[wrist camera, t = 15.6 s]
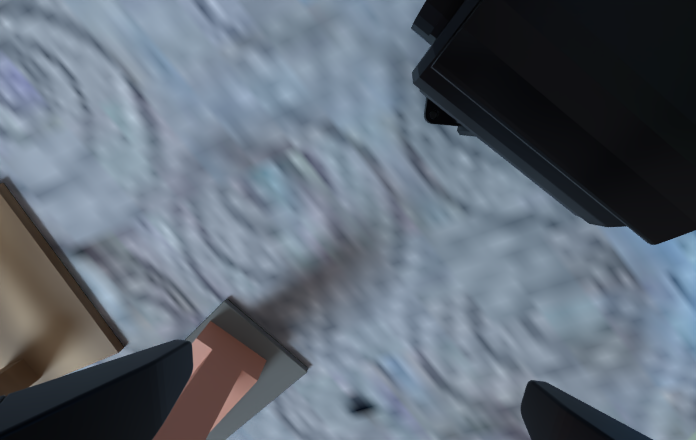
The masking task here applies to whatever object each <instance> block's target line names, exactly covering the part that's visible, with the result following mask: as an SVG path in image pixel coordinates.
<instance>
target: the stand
mask: <svg viewBox="0 0 696 440" xmlns="http://www.w3.org/2000/svg"><path fill="white" fill-rule="evenodd" d="M123 348H124V347H123V346H122V344H121V343H120V341H119V340H118V339H117V337H116V336H115V335H114V333H113V332H112V331H111V329H110V328H109V326H108V325H107V324H106V322H105V321H104V320H103V318H102V317H101V316H100V314H99V313H98V312H97V310H96V309H95V307H94V306H93V305H92V303H91V302H90V301H89V299H88V298H87V297H86V295H85V294H84V292H83V291H82V290H81V288H80V287H79V286H78V284H77V283H76V282H75V280H74V279H73V277H72V276H71V275H70V273H69V272H68V271H67V269H66V268H65V267H64V265H63V264H62V262H61V261H60V260H59V258H58V257H57V256H56V254H55V253H54V252H53V250H52V249H51V247H50V246H49V245H48V243H47V242H46V241H45V239H44V238H43V237H42V235H41V234H40V232H39V231H38V230H37V228H36V227H35V226H34V224H33V223H32V222H31V220H30V219H29V217H28V216H27V215H26V213H25V212H24V211H23V209H22V208H21V207H20V205H19V204H18V202H17V201H16V200H15V198H14V197H13V196H12V194H11V193H10V192H9V190H8V189H7V187H6V186H5V185H4V183H0V396H2V395H5V396H7V395H8V394H10V393H13V392H16V391H19V390H22V389H25V388H28V387H31V386H34V385H37V384H41V383H44V382H47V381H50V380H53V379H56V378H58V377H61V376H63V375H66V374H68V373H71V372H73V371H76V370H78V369H80V368H83V367H85V366H88V365H90V364H93V363H95V362H97V361H100V360H102V359H105V358H107V357H110V356H112V355H115V354H117V353H119V352H120V351H121V350H122V349H123Z"/></svg>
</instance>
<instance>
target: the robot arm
mask: <svg viewBox="0 0 696 440" xmlns="http://www.w3.org/2000/svg"><path fill="white" fill-rule="evenodd" d="M411 29H412V30H413V31H415V32H416V33H417V34H418V35H419V36H421V37H422V38H423V39H424V40H426V41H427V42H428V43H429V44H430V45H431V47H430V48H429V50H428V51H427V52H426V54H425V55H424V56H423V58H422V59H421V61H420V62H419V63H418V65H417V66H416V68H415V69H414V70H413V72H412V78H413V84H414V85H415V86H417V87H418V88H419V89H420V92H421V93H422V94H423V95H425V96H426V104H425V111H424V118H425V120H426V121H427V122H428V123H431V124H440V125H451V126H458V129H457V131H458V133H459V134H460V135H466V136H476V137H477V138H479V139H480V140H481V141H483V142H484V143H485V144H486V145H488V146H489V147H490V148H491V149H493V150H494V151H495V152H496V153H498V154H499V155H500V156H501V157H503V158H504V159H505V160H506V161H508V162H509V163H510V164H511V165H513V166H514V167H515V168H516V169H518V170H519V171H520V172H522V173H523V174H524V175H525V176H527V177H528V178H529V179H530V180H532V181H533V182H534V183H535V184H537V185H538V186H539V187H540V188H542V189H543V190H544V191H545V192H547V193H548V194H549V195H550V196H552V197H553V198H554V199H555V200H557V201H558V202H559V203H561V204H562V205H563V206H564V207H566V208H567V209H568V210H569V211H571V212H572V213H573V214H574V215H576V216H579V217H581V218H582V219H584V220H585V221H586V222H587V223H589V224H593V225H599V226H604V227H622V226H627V227H629V228H630V229H631V230H632V231H634V232H635V233H636V234H637V235H638V236H640V237H641V238H642V239H643V240H645V241H646V242H647V243H649V244H651V245H656V244H659V243H662V242H665V241H668V240H670V239H673V238H676V237H678V236H681V235H684V234H687V233H689V232H692V231H695V230H696V0H426V2H425V4H424V5H423V7H422V9H421V10H420V12H419V14H418V16H417V17H416V19H415V21H414V23H413V25H412V27H411ZM432 110H435V111H436V112H437V117H436V118H435V119H431V118H430V112H431V111H432ZM192 372H193V350H192V343H191V342H190V341H186V340H173V341H170V342H167V343H164V344H160V345H157V346H154V347H151V348H148V349H145V350H142V351H139V352H136V353H133V354H130V355H127V356H124V357H120V358H117V359H114V360H111V361H108V362H105V363H102V364H99V365H96V366H93V367H90V368H87V369H84V370H80V371H77V372H74V373H71V374H68V375H65V376H62V377H59V378H56V379H53V380H50V381H47V382H44V383H41V384H37V385H34V386H31V387H28V388H25V389H22V390H19V391H16V392H13V393H10V394H8V395H7V396H5V395H2V396H0V440H152V439H153V438H154V437H155V435H156V434H157V432H158V431H159V429H160V428H161V427H162V425H163V423H164V422H165V420H166V419H167V417H168V415H169V413H170V412H171V410H172V408H173V407H174V405H175V403H176V401H177V400H178V398H179V396H180V394H181V393H182V391H183V389H184V388H185V386H186V384H187V382H188V381H189V379H190V377H191V375H192ZM521 414H522V418H523V420H524V423H525V425H526V428H527V430H528V433H529V435H530V438H531V440H653V439H651V438H649V437H647V436H645V435H643V434H641V433H640V432H638V431H636V430H634V429H632V428H630V427H628V426H627V425H625V424H623V423H621V422H619V421H617V420H616V419H614V418H612V417H610V416H608V415H606V414H604V413H603V412H601V411H599V410H597V409H595V408H593V407H591V406H590V405H588V404H586V403H584V402H582V401H580V400H578V399H577V398H575V397H573V396H571V395H569V394H567V393H565V392H564V391H562V390H560V389H558V388H556V387H554V386H552V385H551V384H549V383H547V382H543V381H535V380H531V381H529V382H528V383H527V386H526V389H525V393H524V396H523V399H522V403H521Z"/></svg>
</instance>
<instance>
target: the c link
mask: <svg viewBox="0 0 696 440" xmlns="http://www.w3.org/2000/svg"><path fill="white" fill-rule="evenodd" d="M192 350H193V372H192V375H191V377H190V379H189V381H188V382H187V384H186V386H185V388H184V389H183V391H182V393H181V394H180V396H179V398H178V400H177V401H176V403H175V405H174V407H173V408H172V410H171V412H170V413H169V415H168V417H167V419H166V420H165V422H164V423H163V425H162V427H161V428H160V429H159V431H158V432H157V434H156V435H155V437H154V438H153V439H152V440H206V438H207V436H208V434H209V433H210V432H211V430H212V429H213V428H214V427H215V426H216V425H217V424H218V423H219V422H220V421H221V420H222V419H223V418H224V416H225V415H226V414H227V413H228V412H229V411H230V410H231V409H232V408H233V407H234V406H235V405H236V403H237V402H238V401H239V400H240V399H241V398H242V397H243V396H244V395H245V394H246V393H247V392H248V391H249V389H250V388H251V387H252V386H253V385H254V384H255V383H256V382H257V381H258V379H259V376H260V374H261V372H262V370H263V367H264V365H265V363H266V360H265V359H264V358H263V357H261V356H260V355H258V354H257V353H255V352H254V351H253V350H251V349H250V348H248V347H247V346H246V345H244V344H243V343H241V342H240V341H238V340H237V339H236V338H234V337H233V336H231V335H230V334H228V333H227V332H226V331H224V330H223V329H221V328H220V327H219V326H217V325H216V324H214V323H213V322H211V321H210V322H209V323H208V324H207V326H206V327H205V328H204V329H203V331H202V332H201V333H200V334H199V336H198V337H197V338H196V339H195V341H194V342H193V343H192Z"/></svg>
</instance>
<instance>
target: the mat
mask: <svg viewBox="0 0 696 440" xmlns="http://www.w3.org/2000/svg"><path fill="white" fill-rule="evenodd" d="M210 321H211V322H213V323H214V324H216V325H217V326H219V327H220V328H221V329H223V330H224V331H226V332H227V333H228V334H230V335H231V336H233V337H234V338H236V339H237V340H238V341H240V342H241V343H243V344H244V345H246V346H247V347H248V348H250V349H251V350H253V351H254V352H255V353H257V354H258V355H260V356H261V357H263V358H264V359H265V360H266V363H265V365H264V367H263V370H262V372H261V374H260V376H259V379H258V381H257V382H256V383H255V384H254V385H253V386H252V387H251V388H250V389H249V391H248V392H247V393H246V394H245V395H244V396H243V397H242V398H241V399H240V400H239V401H238V402H237V403H236V405H235V406H234V407H233V408H232V409H231V410H230V411H229V412H228V413H227V414H226V415H225V416H224V418H223V419H222V420H221V421H220V422H219V423H218V424H217V425H216V426H215V427H214V428H213V429H212V430H211V432H210V433H209V434H208V436H207V438H206V440H225V439H227V438H228V437H229V436H230V435H231V434H233V433H234V432H235V431H236V430H238V429H239V428H240V427H241V426H242V425H244V424H245V423H246V422H247V421H248V420H250V419H251V418H252V417H253V416H255V415H256V414H257V413H258V412H259V411H261V410H262V409H263V408H264V407H265V406H267V405H268V404H269V403H270V402H272V401H273V400H274V399H275V398H276V397H278V396H279V395H280V394H281V393H282V392H284V391H285V390H286V389H287V388H289V387H290V386H291V385H292V384H293V383H295V382H296V381H297V380H298V379H299V378H301V377H302V376H303V375H304V374H306V373H307V370H308V368H307V367H306V366H305V365H303V364H302V363H301V362H300V361H299V360H298V359H296V358H295V357H294V356H293V355H292V354H291V353H289V352H288V351H287V350H286V349H285V348H284V347H282V346H281V345H280V344H279V343H278V342H277V341H275V340H274V339H273V338H272V337H271V336H270V335H268V334H267V333H266V332H265V331H264V330H263V329H261V328H260V327H259V326H258V325H257V324H256V323H254V322H253V321H252V320H251V319H250V318H249V317H247V316H246V315H245V314H244V313H243V312H242V311H240V310H239V309H238V308H237V307H236V306H234V305H233V304H232V303H231V302H230V301H229V300H227V299H226V300H225V301H224V302H223V303H222V304H221V305H220V306H219V307H218V308H217V309H216V310H215V311H214V312H213V313H212V314H211V315H210V316H209V317H208V318H207V319H206V320H205V321H204V322H203V323H202V324H201V325H200V326H199V327H198V328H197V329H196V330H195V331H194V332H193V333H192V334H191V335H190V336H189V337H188V338H187V339H186V341H190V342H191V343H193V342H194V341H195V339H196V338H197V337H198V336H199V334H200V333H201V332H202V331H203V329H204V328H205V327H206V326H207V324H208V323H209V322H210Z"/></svg>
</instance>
